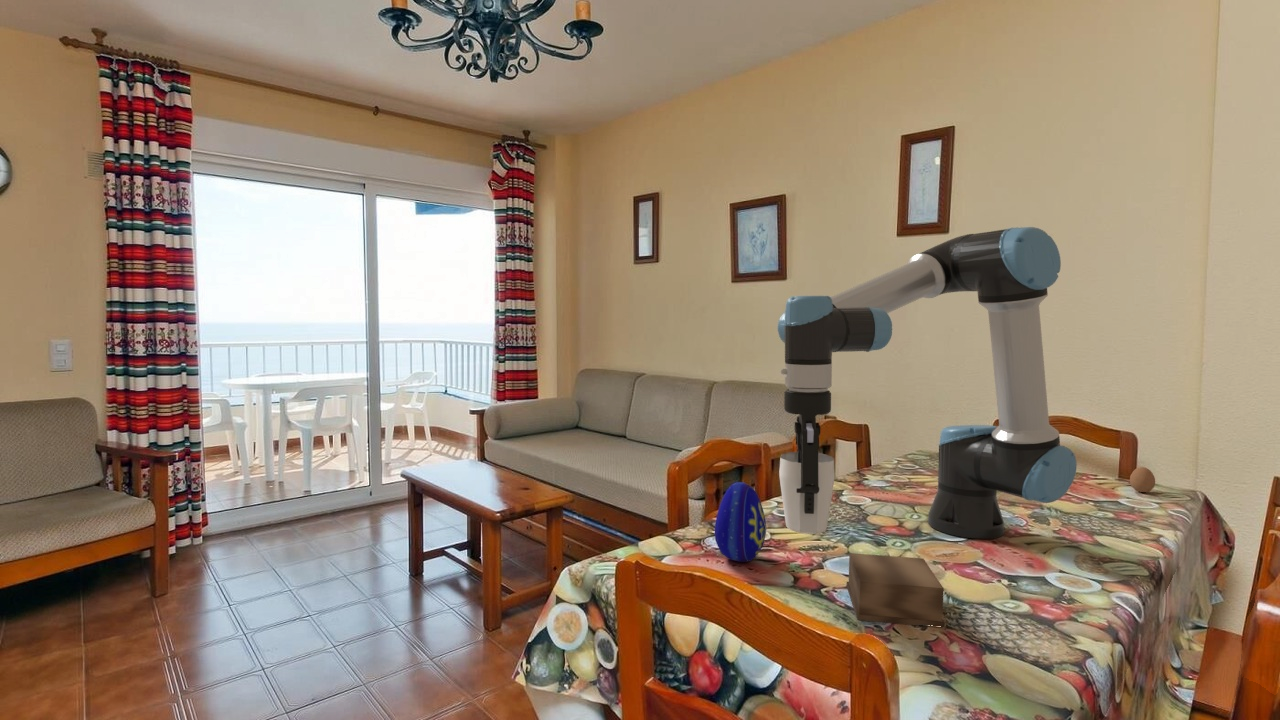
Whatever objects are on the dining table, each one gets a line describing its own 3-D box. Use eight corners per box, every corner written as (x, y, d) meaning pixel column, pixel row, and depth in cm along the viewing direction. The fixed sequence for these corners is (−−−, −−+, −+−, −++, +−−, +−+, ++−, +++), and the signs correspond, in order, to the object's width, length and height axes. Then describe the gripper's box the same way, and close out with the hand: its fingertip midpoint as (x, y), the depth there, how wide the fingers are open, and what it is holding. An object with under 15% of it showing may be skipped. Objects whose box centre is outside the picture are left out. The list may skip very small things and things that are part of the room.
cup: (836, 538, 101) (837, 464, 100) (779, 535, 103) (779, 462, 102) (831, 520, 110) (832, 452, 109) (778, 517, 112) (778, 450, 111)
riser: (923, 592, 107) (924, 558, 107) (944, 627, 95) (946, 589, 95) (846, 585, 110) (847, 552, 109) (857, 619, 97) (858, 581, 97)
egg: (1159, 495, 169) (1161, 469, 168) (1139, 495, 169) (1140, 469, 168) (1143, 489, 174) (1145, 464, 174) (1124, 489, 174) (1125, 464, 174)
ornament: (750, 573, 115) (752, 492, 114) (705, 563, 119) (706, 485, 119) (772, 554, 124) (773, 479, 123) (729, 545, 129) (730, 473, 128)
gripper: (782, 381, 116) (781, 502, 117) (787, 397, 95) (785, 543, 97) (824, 382, 114) (823, 504, 116) (838, 397, 93) (836, 546, 95)
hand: (806, 522), depth 106 cm, fingers closed on cup, 9 cm apart
